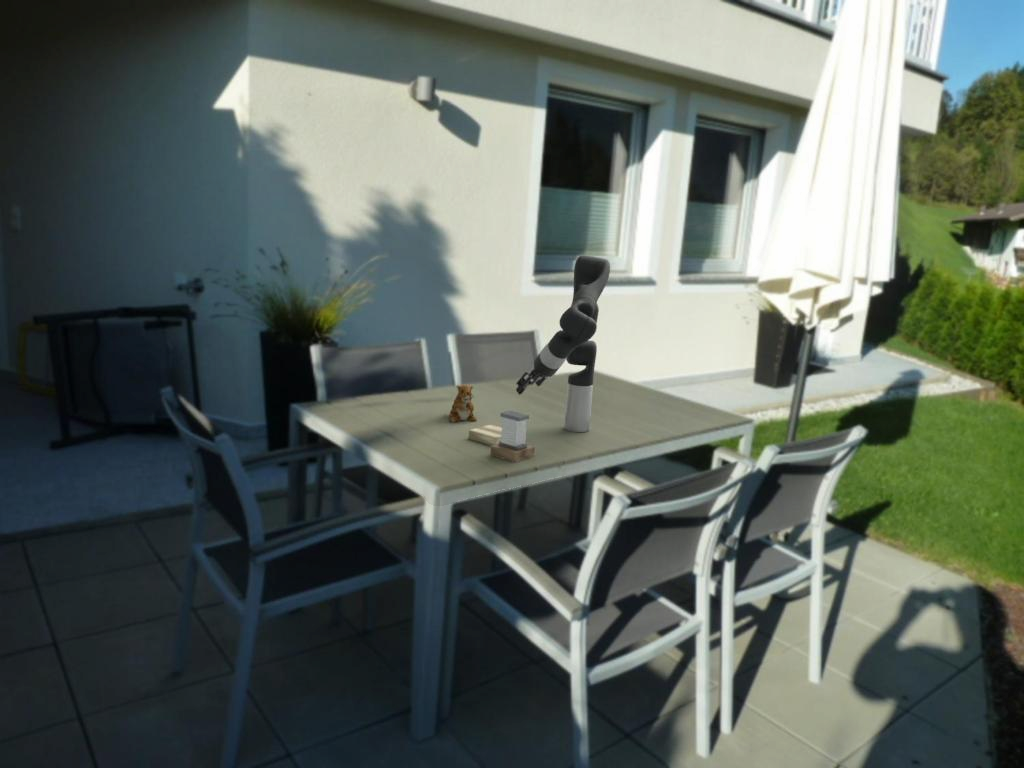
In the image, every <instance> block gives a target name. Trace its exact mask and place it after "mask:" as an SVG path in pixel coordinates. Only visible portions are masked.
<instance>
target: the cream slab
mask: <svg viewBox="0 0 1024 768" xmlns="http://www.w3.org/2000/svg"><path fill="white" fill-rule="evenodd" d="M501 433H502V426H499V425H496V424H492V423H491V424H488V425H487V424H486V425H483V426H480V427H475V428H473V429H469V430H468V440H472V441H475V442H478V443H483V444H485V445H488V444H489V446H493V445H496V444H499V442H500V441H501Z"/></svg>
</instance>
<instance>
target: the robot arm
mask: <svg viewBox="0 0 1024 768" xmlns="http://www.w3.org/2000/svg"><path fill="white" fill-rule="evenodd" d="M610 273H611V263H610V261H609V260H608V259H606V258H603V257H596V256H593V255H592V256H591V255H583V254H582V255H579V256H578V257H577V259H576V261H575V264H574V269H573V293H572V301H571V302H572V303H571V304H570V306H569V307H568V308H567V309H566V310H565V311H564V312H563V314H562V315H561V316H560V318H559V327H560V328H561V329H560V330H558V331H557V332H556V333H554V335H553V336H552V337H551V339H550V340H549V341H548V343H546V344H545V346H543V348H542V349H541V351H540V352H539V354H537V355H536V357H535V358H534V360H533V367H532V368H531V369H530V371H529V372H527V371H526V372H524V373H523V374H522V376H520V378H519V379H518V380H517V382H516V385H517V387H516V388H515V391H516V393H517V394H518V395H522V394H523V393H524V392H525V390H526V389H527V388H528V387H529V386H533V385H534V384H535V385H536V387H540V386H541V385H542V384H543V383H544V381H546V380H547V379H548V378H551V377H552V376H555V374H556V373H557V372H558V370H559V369H560V368H561V367H562V365H564V363H565V361H566V362H567V363H568V364H569V365H573V366H582V367H583V366H585V368H583V369H582V370H579V371H577V372H574V373H570V374H569V375H568V379H567V387H566V388H567V389H566V390H567V391H566V403H565V413H564V414H565V415H564V430H566V431H569V432H573V433H586V432H589V431H590V426H591V425H590V424H591V412H592V401H593V389H594V376H595V373H594V372H595V367H596V359H597V351H598V350H597V343H596V341H594V340H591V339H592V338H593V337H594V335H595V333H596V332H597V328H598V325H597V323H598V317H599V309H600V308H599V306H598V301H599V298H600V296H602V294H603V291H604V289H605V287H606V286H607V283H608V282H609V281H608V280H609V278H610Z"/></svg>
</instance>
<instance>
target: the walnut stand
mask: <svg viewBox="0 0 1024 768" xmlns="http://www.w3.org/2000/svg"><path fill="white" fill-rule="evenodd" d="M535 448H536V447H535V446H532V445H529V444H527V448H525V449H521V450H518V451H516V450H513V449H509V448H506V447H503V446H499V444H496V445H493V446H492V445H490V456H492V455H493V457H496V458H499V459H502V458H503V459H502V460H505V459H506V461H508V460H510V461H509V462H512V461H513V462H512V463H517V462H521V461H523V460H526V459H529V458H533V457H534V456H535Z"/></svg>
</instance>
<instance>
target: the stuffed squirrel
mask: <svg viewBox="0 0 1024 768" xmlns="http://www.w3.org/2000/svg"><path fill="white" fill-rule="evenodd" d="M455 388H456V389H457V392H458V393H457V394H456V396H455V398H454V400H453V404H452V405H451V409H450V411H449V421H450V422H451V423H456V422H459V421H461V420H465V421H468V422H478V421H477V420H478V418H477V417H476V416H475V415H474V410H475V406H474V404H473V402H472V399H473V398H476V396H475V395H474V394H473V393H472V389H474V386H473V385H472V386H470V385H465V384H464V385H463V384H462V385H456V387H455Z"/></svg>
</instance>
